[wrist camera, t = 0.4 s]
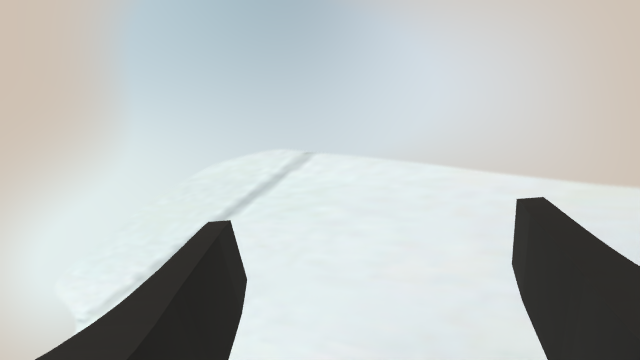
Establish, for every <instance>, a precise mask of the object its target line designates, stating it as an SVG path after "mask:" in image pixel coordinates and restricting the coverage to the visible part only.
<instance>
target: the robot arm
mask: <svg viewBox="0 0 640 360" xmlns="http://www.w3.org/2000/svg"><path fill="white" fill-rule="evenodd" d="M512 266H513V270H514V274H515V277H516V281H517V285H518V288H519V291H520V295H521V298H522V301H523V304H524V306H525V308H526V311H527V313H528V315H529V318H530V320H531V322H532V325H533V327H534V329H535V332H536V334H537V336H538V338H539V341H540V343H541V345H542V348H543V350H544V352H545V354H546V357H547V359H548V360H640V266H638V265H637V264H635V263H634V262H632V261H630V260H629V259H627V258H626V257H624V256H623V255H621V254H620V253H618V252H617V251H615V250H614V249H612V248H611V247H609V246H608V245H607V244H605V243H604V242H602V241H601V240H599V239H598V238H597V237H595V236H594V235H593V234H591V233H590V232H589V231H587V230H586V229H585V228H583V227H582V226H581V225H579V224H578V223H577V222H575V221H574V220H573V219H571V218H570V217H569V216H567V215H566V214H565V213H564V212H562V211H561V210H560V209H558V208H557V207H556V206H554V205H553V204H552V203H551V202H549V201H548V200H546V199H545V198H544V197H538V198H525V199H517V203H516V216H515V230H514V243H513V257H512ZM246 284H247V277H246V274H245V270H244V267H243V263H242V260H241V256H240V253H239V249H238V246H237V242H236V238H235V235H234V231H233V228H232V224H231V221H230V220H229V221H216V222H208V223H207V224H205V225H204V226H203V227H202V228H201V229H200V230H199V231H198V232H197V233H196V234H195V235H194V236H193V237H192V238H191V239H190V240H189V241H188V242H187V243H186V244H185V245H184V246H183V247H181V248H180V249H179V250H178V251H177V252H176V253H175V254H174V255H173V256H172V257H171V258H170V259H169V260H168V261H167V262H166V263H165V264H164V265H163V266H162V267H161V268H160V269H159V270H158V271H156V272H155V273H154V274H153V275H152V276H151V277H150V278H148V279H147V280H146V281H145V282H144V283H143V284H142V285H141V286H139V287H138V288H137V289H136V290H135V291H134V292H133V293H131V294H130V295H129V296H128V297H127V298H125V299H124V300H123V301H122V302H120V303H119V304H118V305H117V306H115V307H114V308H113V309H111V310H110V311H109V312H107V313H106V314H105V315H103V316H102V317H101V318H99V319H98V320H97V321H95V322H94V323H92V324H91V325H90V326H88V327H87V328H85V329H84V330H82V331H80V332H79V333H77V334H76V335H74V336H73V337H71V338H70V339H68V340H67V341H65V342H63V343H62V344H60V345H59V346H58V347H56V348H54V349H53V350H51V351H49V352H48V353H46V354H44V355H43V356H41V357H39V358H37V359H35V360H228V359H229V356H230V352H231V349H232V346H233V342H234V339H235V336H236V332H237V329H238V325H239V322H240V318H241V315H242V310H243V304H244V298H245V291H246Z"/></svg>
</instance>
